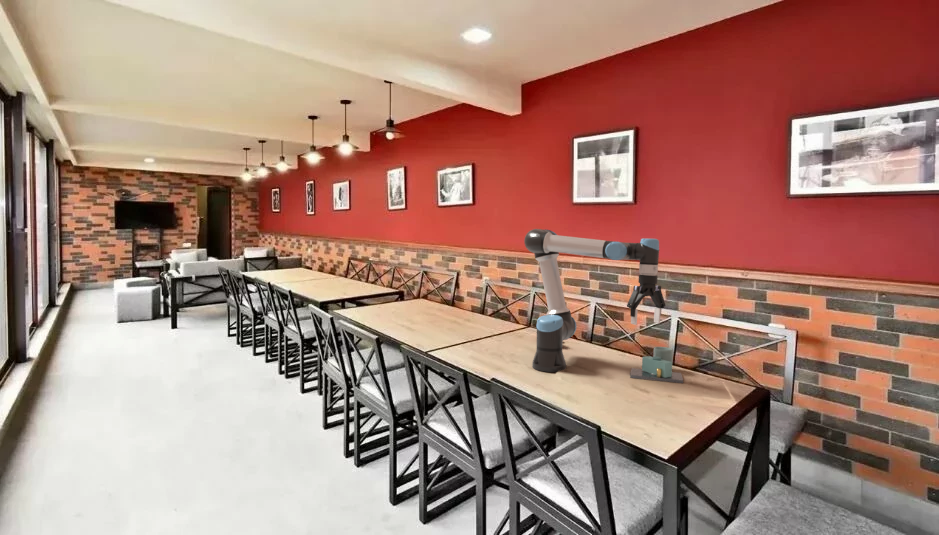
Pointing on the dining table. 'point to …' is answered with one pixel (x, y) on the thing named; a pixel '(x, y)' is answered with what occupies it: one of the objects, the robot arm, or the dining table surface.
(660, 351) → the cup
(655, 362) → the teal rectangular block
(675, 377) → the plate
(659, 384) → the dining table surface
